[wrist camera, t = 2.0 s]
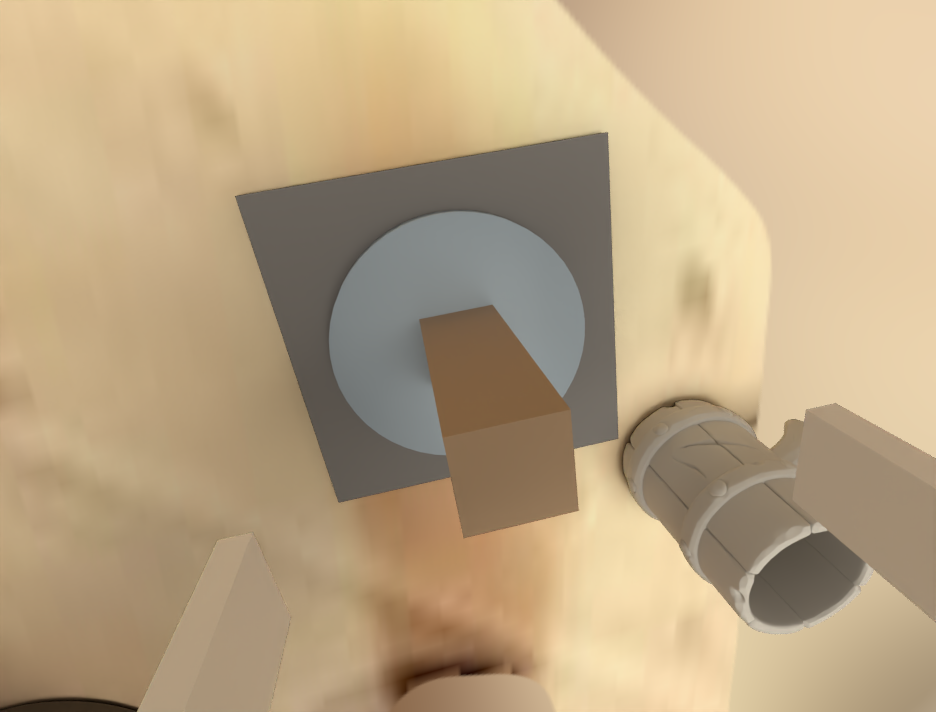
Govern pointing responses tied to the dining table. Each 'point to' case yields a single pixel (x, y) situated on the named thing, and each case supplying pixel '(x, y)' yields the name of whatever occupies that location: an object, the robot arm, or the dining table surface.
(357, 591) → the dining table surface
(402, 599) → the dining table surface
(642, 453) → the mug
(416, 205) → the mat
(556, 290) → the lid
